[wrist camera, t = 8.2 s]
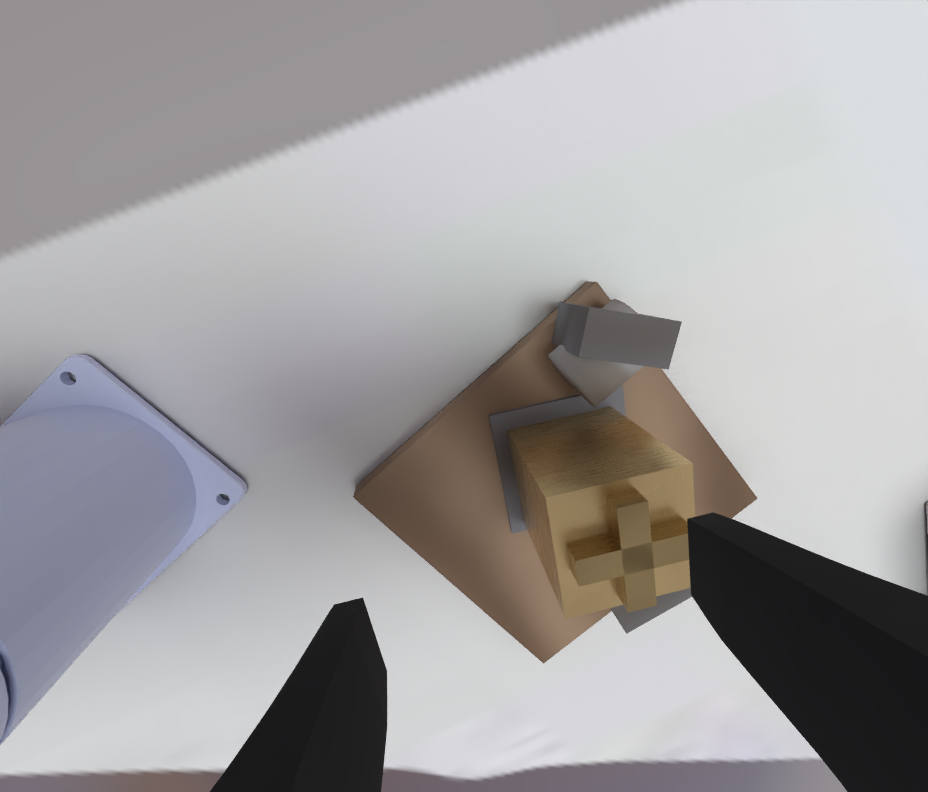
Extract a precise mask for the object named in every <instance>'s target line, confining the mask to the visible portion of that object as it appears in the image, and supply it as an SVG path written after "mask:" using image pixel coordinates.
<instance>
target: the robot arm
mask: <svg viewBox="0 0 928 792" xmlns="http://www.w3.org/2000/svg"><path fill="white" fill-rule="evenodd" d="M69 372H71V373H73V375H74V376H75V377H76V382H73V381H71V379H70V378H69V375H68V373H69ZM246 492H247V486H246V483H245V482H244V481H243V480H242V479H241V478H240V477H238V476H237V475H236V474H235V473H233V472H232V471H231V470H230V469H228V468H227V467H226V466H225V465H224V464H222V463H221V462H220V461H219V460H217V459H216V458H215V457H214V456H212V455H211V454H210V453H209V452H207V451H206V450H205V449H204V448H203V447H201V446H200V445H199V444H198V443H196V442H195V441H194V440H193V439H191V438H190V437H189V436H188V435H186V434H185V433H184V432H183V431H182V430H180V429H179V428H178V427H177V426H175V425H174V424H173V423H172V422H170V421H169V420H168V419H167V418H166V417H164V416H163V415H162V414H161V413H159V412H158V411H157V410H156V409H154V408H153V407H152V406H151V405H149V404H148V403H147V402H146V401H145V400H143V399H142V398H141V397H140V396H138V395H137V394H136V393H135V392H133V391H132V390H131V389H130V388H128V387H127V386H126V385H125V384H124V383H122V382H121V381H120V380H119V379H117V378H116V377H115V376H114V375H112V374H111V373H110V372H109V371H107V370H106V369H105V368H104V367H103V366H101V365H100V364H99V363H98V362H96V361H95V360H94V359H93V358H91V357H89V356H87V355H83V354H79V355H74V356H70V357H68V358H67V359H65V360H64V361H63V362H62V363H61V364H60V365H59V366H58V367H57V368H56V370H55V371H54V372H53V373H52V374H51V375H50V376H49V377H48V378H47V379H46V380H45V381H44V382H43V383H42V384H41V385H40V386H39V387H38V388H37V389H36V390H35V391H34V392H33V393H32V394H31V395H30V396H29V397H28V398H27V400H26V401H25V402H24V403H23V404H22V405H21V406H20V407H19V408H18V409H17V410H16V411H15V412H14V413H13V414H12V415H11V416H10V417H9V418H8V419H7V420H6V421H5V422H4V423H3V424H2V425H1V426H0V745H1V744H2V743H3V742H4V740H5V739H6V738H7V737H8V736H9V735H10V734H11V732H12V731H13V730H14V729H15V728H16V727H17V726H18V725H19V723H20V722H21V721H22V720H23V719H24V718H25V717H26V716H27V714H28V713H29V712H30V711H31V710H32V709H33V708H34V706H35V705H36V704H37V703H38V702H39V701H40V700H41V699H42V697H43V696H44V695H45V694H46V693H47V692H48V691H49V689H50V688H51V687H52V686H53V685H54V684H55V683H56V682H57V680H58V679H59V678H60V677H61V676H62V675H63V674H64V673H65V671H66V670H67V669H68V668H69V667H70V666H71V665H72V663H73V662H74V661H75V660H76V659H77V658H78V657H79V656H80V654H81V653H82V652H83V651H84V650H85V649H86V648H87V646H88V645H89V644H90V643H91V642H92V641H93V640H94V639H95V637H96V636H97V635H98V634H99V633H100V632H101V631H102V630H103V628H104V627H105V626H106V625H107V624H108V623H109V622H110V620H111V619H112V618H113V617H114V616H115V615H116V614H117V613H118V612H119V611H120V610H121V609H122V608H123V607H124V606H125V605H126V604H127V603H129V602H130V601H131V600H132V599H133V598H134V597H135V596H136V595H137V594H138V593H139V592H141V591H142V590H143V589H144V588H145V587H146V586H147V585H148V584H149V583H150V582H151V581H153V580H154V579H155V578H156V577H157V576H158V575H159V574H160V573H161V572H162V571H163V570H165V569H166V568H167V567H168V566H169V565H170V564H171V563H172V562H173V561H174V560H175V559H177V558H178V557H179V556H180V555H181V554H182V553H183V552H184V551H185V550H186V549H187V548H189V547H190V546H191V545H192V544H193V543H194V542H195V541H196V540H197V539H198V538H199V537H201V536H202V535H203V534H204V533H205V532H206V531H207V530H208V529H209V528H210V527H211V526H213V525H214V524H215V523H216V522H217V521H218V520H219V519H220V518H221V517H222V516H223V515H224V514H226V513H227V512H228V511H229V510H230V509H231V508H232V507H233V506H234V505H235V504H236V503H238V502H239V501H240V500H241V499H242V498H243V496H244V495H245V494H246ZM220 494H225V495H227V496H228V497H229V499H230V500H224V499H222V497H221V496H220ZM687 526H688V546H689V567H690V587H691V595H692V597H693V598H694V600H695V601H696V603H697V604H698V606H699V607H700V609H701V610H702V612H703V613H704V615H705V617H706V618H707V620H708V621H709V622H710V624H711V625H712V627H713V628H714V630H715V631H716V633H717V634H718V635H719V637H720V638H721V640H722V641H723V642H724V643H725V645H726V646H727V647H728V648H729V649H730V651H731V652H732V653H733V654H734V655H735V657H736V658H737V659H738V660H739V661H740V663H741V664H742V665H743V666H744V667H745V669H746V670H747V671H748V672H749V673H750V675H751V676H752V677H753V678H754V679H755V680H756V682H757V683H758V684H759V685H760V686H761V688H762V689H763V690H764V691H765V692H766V693H767V695H768V696H769V697H770V698H771V699H772V700H773V702H774V703H775V704H776V705H777V706H778V708H779V709H780V710H781V711H782V712H783V713H784V715H785V716H786V717H787V718H788V719H789V720H790V722H791V723H792V724H793V725H794V726H795V728H796V729H797V730H798V731H799V732H800V733H801V735H802V736H803V737H804V738H805V739H806V740H807V742H808V743H809V744H810V745H811V746H812V748H813V749H814V750H815V751H816V752H817V753H818V755H819V756H820V757H821V758H822V760H823V761H824V762H825V763H826V764H827V766H828V767H829V768H830V770H831V771H832V772H833V773H834V775H835V776H836V777H837V778H838V780H839V781H840V782H841V783H842V785H843V786H844V787H845V789H846V790H847V792H928V596H927V595H924V594H921V593H918V592H915V591H913V590H910V589H907V588H904V587H902V586H899V585H896V584H893V583H891V582H888V581H885V580H883V579H880V578H877V577H874V576H872V575H869V574H866V573H864V572H861V571H858V570H856V569H853V568H851V567H848V566H845V565H843V564H840V563H838V562H835V561H833V560H830V559H828V558H825V557H823V556H820V555H818V554H815V553H813V552H811V551H808V550H806V549H803V548H801V547H798V546H796V545H794V544H791V543H789V542H786V541H784V540H782V539H779V538H777V537H774V536H772V535H770V534H767V533H765V532H762V531H760V530H758V529H755V528H753V527H750V526H748V525H745V524H743V523H741V522H738V521H736V520H733V519H730V518H728V517H725V516H723V515H720V514H717V513H714V512H713V513H709V514H705V515H700V516H696V517H692V518H688V519H687ZM386 732H387V670H386V667H385V664H384V661H383V658H382V655H381V652H380V649H379V646H378V643H377V640H376V636H375V633H374V630H373V627H372V624H371V621H370V618H369V615H368V612H367V609H366V606H365V603H364V600H363V598H360V599H355V600H351V601H347V602H343V603H339V604H335V605H334V606H333V607H332V609H331V610H330V612H329V614H328V615H327V617H326V618H325V620H324V621H323V623H322V625H321V626H320V628H319V630H318V631H317V633H316V635H315V636H314V638H313V639H312V641H311V643H310V644H309V646H308V648H307V649H306V651H305V652H304V654H303V656H302V657H301V659H300V661H299V662H298V664H297V665H296V667H295V669H294V670H293V672H292V673H291V675H290V676H289V678H288V679H287V681H286V683H285V684H284V686H283V687H282V689H281V690H280V692H279V693H278V695H277V697H276V698H275V700H274V701H273V703H272V704H271V706H270V707H269V709H268V710H267V712H266V713H265V715H264V716H263V718H262V719H261V721H260V722H259V724H258V725H257V726H256V728H255V729H254V731H253V732H252V734H251V735H250V736H249V738H248V739H247V741H246V742H245V744H244V745H243V747H242V748H241V749H240V751H239V752H238V754H237V755H236V757H235V758H234V759H233V761H232V762H231V764H230V765H229V766H228V768H227V769H226V771H225V772H224V773H223V775H222V776H221V777H220V779H219V780H218V781H217V783H216V784H215V785H214V787H213V788H212V790H211V791H210V792H381V785H382V775H383V765H384V754H385V744H386Z"/></svg>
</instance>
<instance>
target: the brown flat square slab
mask: <svg viewBox="0 0 928 792" xmlns="http://www.w3.org/2000/svg"><path fill="white" fill-rule="evenodd" d="M680 326H681V322H680V321H674V320H669V319H664V318H658V317H653V316H647V315H642V314H638V313H637V312H635V311H634V310H633V309H632V308H631V307H629V306H628V305H626V304H625V303H623V302H621V301H619V300H615V299H613V300H610V299H609V297H608V296H607V295H606V293H605V292H604V291H603V289H602V288H601V287H600V285H599V284H598V283H597V282H586V283H585V284H584V285H583V286H581V287H580V288H579V289H578V290H577V291H576V292H575V293H574V294H572V295H571V296H570V297H569V298H568V299H567V300H566V301H565V302H559V306H558V308H557V309H555V310H554V311H553V312H552V313H551V314H550V315H549V316H548V317H546V318H545V319H544V320H543V321H542V322H541V323H540V324H539V325H537V326H536V327H535V328H534V329H533V330H532V331H531V332H529V333H528V334H527V335H526V336H525V337H524V338H523V339H522V340H520V341H519V342H518V343H517V344H516V345H515V346H514V347H513V348H511V349H510V350H509V351H508V352H507V353H506V354H505V355H503V356H502V357H501V358H500V359H499V360H498V361H497V362H496V363H494V364H493V365H492V366H491V367H490V368H489V369H488V370H487V371H485V372H484V373H483V374H482V375H481V376H480V377H479V378H477V379H476V380H475V381H474V382H473V383H472V384H471V385H470V386H468V387H467V388H466V389H465V390H464V391H463V392H462V393H461V394H459V395H458V396H457V397H456V398H455V399H454V400H453V401H452V402H450V403H449V404H448V405H447V406H446V407H445V408H444V409H442V410H441V411H440V412H439V413H438V414H437V415H436V416H435V417H433V418H432V419H431V420H430V421H429V422H428V423H427V424H426V425H424V426H423V427H422V428H421V429H420V430H419V431H418V432H416V433H415V434H414V435H413V436H412V437H411V438H410V439H409V440H407V441H406V442H405V443H404V444H403V445H402V446H401V447H400V448H398V449H397V450H396V451H395V452H394V453H393V454H392V455H390V456H389V457H388V458H387V459H386V460H385V461H384V462H383V463H381V464H380V465H379V466H378V467H377V468H376V469H375V470H374V471H372V472H371V473H370V474H369V475H368V476H367V477H366V478H364V479H363V480H362V481H361V482H360V483H359V484H358V485H357V486H356V489H355V492H354V496H353V497H354V498H355V499H356V500H357V501H358V502H359V503H360V504H362V505H363V506H364V507H365V508H366V509H367V510H368V511H370V512H371V513H372V514H373V515H374V516H375V517H376V518H378V519H379V520H380V521H381V522H382V523H383V524H384V525H386V526H387V527H388V528H389V529H390V530H391V531H392V532H394V533H395V534H396V535H397V536H398V537H399V538H401V539H402V540H403V541H404V542H405V543H406V544H407V545H409V546H410V547H411V548H412V549H413V550H414V551H415V552H417V553H418V554H419V555H420V556H421V557H422V558H423V559H425V560H426V561H427V562H428V563H429V564H430V565H431V566H433V567H434V568H435V569H436V570H437V571H438V572H439V573H441V574H442V575H443V576H444V577H445V578H446V579H447V580H449V581H450V582H451V583H452V584H453V585H454V586H455V587H457V588H458V589H459V590H460V591H461V592H462V593H463V594H465V595H466V596H467V597H468V598H469V599H470V600H472V601H473V602H474V603H475V604H476V605H477V606H478V607H480V608H481V609H482V610H483V611H484V612H485V613H486V614H488V615H489V616H490V617H491V618H492V619H493V620H494V621H496V622H497V623H498V624H499V625H500V626H501V627H502V628H504V629H505V630H506V631H507V632H508V633H509V634H510V635H512V636H513V637H514V638H515V639H516V640H517V641H518V642H520V643H521V644H522V645H523V646H524V647H525V648H526V649H528V650H529V651H530V652H531V653H532V654H533V655H535V656H536V657H537V658H538V659H539V660H540V661H541V662H543V663H545V662H546V661H547V660H549V659H550V658H551V657H552V656H554V655H555V654H556V653H558V652H559V651H560V650H562V649H563V648H564V647H565V646H567V645H568V644H569V643H571V642H572V641H573V640H575V639H576V638H577V637H578V636H580V635H581V634H582V633H584V632H585V631H586V630H587V629H589V628H590V627H591V626H593V625H594V624H595V623H597V622H598V621H599V620H600V619H602V618H603V617H604V616H606V615H607V614H608V613H610V612H611V611H612V612H613V613H614V615H615V616H616V618H617V619H618V621H619V623H620V624H621V626H622V627H623V629H624V630H625V632H626V634H627V633H629V632H630V631H632V630H634V629H636V628H637V627H639V626H641V625H643V624H644V623H646V622H648V621H650V620H651V619H653V618H655V617H657V616H659V615H660V614H662V613H664V612H666V611H667V610H669V609H671V608H673V607H674V606H676V605H678V604H680V603H681V602H683V601H685V600H687V599H688V598H690V597H692V595H691V588H688V589H684V590H680V591H676V592H672V593H668V594H664V595H660V596H656V599H657V606H653V607H649V608H645V609H641V610H637V611H633V612H629V613H628V612H627V610H626V608H625V607H624V605H620V606H616V607H612V608H608V609H604V610H600V611H596V612H592V613H588V614H584V615H580V616H576V617H572V618H568V619H565V617H564V614H563V612H562V610H561V607H560V605H559V603H558V600H557V598H556V596H555V593H554V591H553V589H552V586H551V584H550V582H549V579H548V577H547V575H546V572H545V570H544V568H543V565H542V563H541V561H540V558H539V556H538V554H537V551H536V549H535V547H534V544H533V542H532V540H531V537H530V535H529V533H528V530H527V528H526V526H525V523H524V519H523V514H522V509H521V503H520V498H519V492H518V487H517V482H516V476H515V471H514V465H513V460H512V455H511V449H510V444H509V438H508V433H507V430H510V429H514V428H519V427H523V426H527V425H532V424H536V423H540V422H545V421H549V420H553V419H558V418H562V417H567V416H571V415H575V414H580V413H584V412H588V411H593V410H597V409H601V408H606V407H610V406H611V407H612V408H614V409H615V410H617V411H618V412H620V413H621V414H622V415H624V416H625V417H627V418H628V419H630V420H631V421H633V422H634V423H635V424H637V425H638V426H640V427H641V428H643V429H644V430H646V431H647V432H649V433H650V434H651V435H653V436H654V437H656V438H657V439H659V440H660V441H662V442H663V443H664V444H666V445H667V446H669V447H670V448H672V449H673V450H675V451H676V452H677V453H679V454H680V455H682V456H683V457H685V458H686V459H688V460H689V461H691V462H692V463H693V481H694V501H695V517H696V516H700V515H705V514H709V513H713V512H714V513H717V514H720V515H723V516H725V517H728V518H730V519H731V518H733V517H734V516H735V515H736V514H738V513H739V512H740V511H742V510H743V509H744V508H746V507H747V506H748V505H749V504H751V503H752V502H753V501H755V500H756V499H757V497H756V496H755V494H754V493H753V492H752V490H751V489H750V488H749V486H748V485H747V484H746V482H745V481H744V479H743V478H742V477H741V475H740V474H739V473H738V471H737V470H736V469H735V467H734V466H733V465H732V463H731V462H730V461H729V459H728V458H727V457H726V455H725V454H724V453H723V451H722V450H721V448H720V447H719V446H718V444H717V443H716V442H715V440H714V439H713V438H712V436H711V435H710V434H709V432H708V431H707V430H706V428H705V427H704V426H703V424H702V423H701V422H700V420H699V419H698V417H697V416H696V415H695V413H694V412H693V411H692V409H691V408H690V407H689V405H688V404H687V403H686V401H685V400H684V399H683V397H682V396H681V395H680V393H679V392H678V391H677V389H676V388H675V386H674V385H673V384H672V382H671V381H670V380H669V378H668V377H667V376H666V374H665V373H664V372H663V370H662V369H669V366H670V362H671V358H672V355H673V351H674V348H675V344H676V340H677V337H678V333H679V330H680ZM661 368H662V369H661Z"/></svg>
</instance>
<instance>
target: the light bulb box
mask: <svg viewBox="0 0 928 792" xmlns="http://www.w3.org/2000/svg"><path fill="white" fill-rule="evenodd" d="M925 505H926V511H927V532H928V502H927V503H926V504H925Z"/></svg>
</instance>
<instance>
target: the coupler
mask: <svg viewBox="0 0 928 792" xmlns="http://www.w3.org/2000/svg"><path fill="white" fill-rule="evenodd" d="M507 433H508V438H509V444H510V449H511V455H512V460H513V465H514V471H515V476H516V482H517V487H518V492H519V498H520V503H521V509H522V514H523V519H524V523H525V526H526V528H527V530H528V533H529V535H530V537H531V540H532V542H533V544H534V547H535V549H536V551H537V554H538V556H539V558H540V561H541V563H542V565H543V568H544V570H545V572H546V575H547V577H548V579H549V582H550V584H551V586H552V589H553V591H554V593H555V596H556V598H557V600H558V603H559V605H560V607H561V610H562V612H563V614H564V617H565V619H568V618H572V617H576V616H580V615H584V614H588V613H592V612H596V611H600V610H604V609H608V608H612V607H616V606H620V605H624V607H625V608H626V610H627V612H628V613H629V612H633V611H637V610H641V609H645V608H649V607H653V606H657V599H656V596H660V595H664V594H668V593H672V592H676V591H680V590H684V589H688V588H691V587H690V567H689V546H688V526H687V519H688V518H692V517H695V501H694V481H693V463H692V462H691V461H689V460H688V459H686V458H685V457H683V456H682V455H680V454H679V453H677V452H676V451H675V450H673V449H672V448H670V447H669V446H667V445H666V444H664V443H663V442H662V441H660V440H659V439H657V438H656V437H654V436H653V435H651V434H650V433H649V432H647V431H646V430H644V429H643V428H641V427H640V426H638V425H637V424H635V423H634V422H633V421H631V420H630V419H628V418H627V417H625V416H624V415H622V414H621V413H620V412H618V411H617V410H615V409H614V408H612V407H611V406H610V407H606V408H601V409H597V410H593V411H588V412H584V413H580V414H575V415H571V416H567V417H562V418H558V419H553V420H549V421H545V422H540V423H536V424H532V425H527V426H523V427H519V428H514V429H510V430H507Z"/></svg>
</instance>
